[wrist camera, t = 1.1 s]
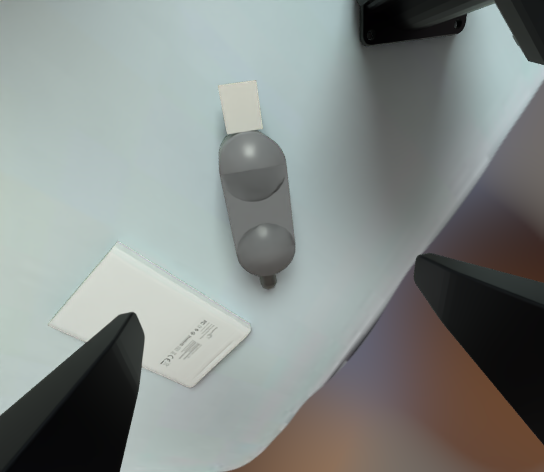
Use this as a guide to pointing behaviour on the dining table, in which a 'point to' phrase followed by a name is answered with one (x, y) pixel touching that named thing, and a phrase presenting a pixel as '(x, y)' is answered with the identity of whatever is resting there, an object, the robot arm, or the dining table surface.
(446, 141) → the dining table surface
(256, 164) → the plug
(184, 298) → the external hard drive
